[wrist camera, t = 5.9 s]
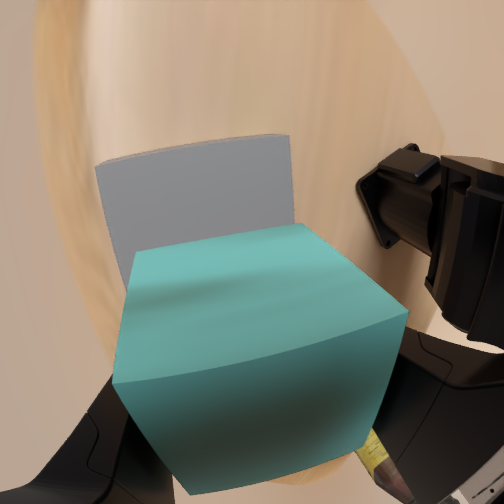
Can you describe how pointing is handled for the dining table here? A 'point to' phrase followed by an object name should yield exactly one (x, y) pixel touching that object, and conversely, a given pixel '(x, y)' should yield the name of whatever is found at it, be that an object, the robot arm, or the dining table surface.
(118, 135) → the dining table surface
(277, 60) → the dining table surface
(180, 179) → the gray plinth
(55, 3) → the dining table surface
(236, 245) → the teal cube
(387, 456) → the sauce bottle
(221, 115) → the dining table surface
